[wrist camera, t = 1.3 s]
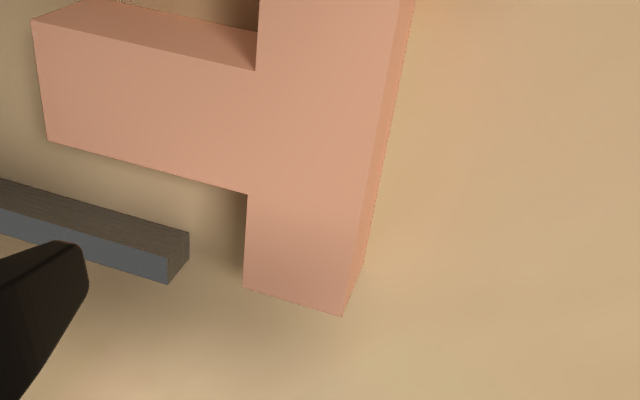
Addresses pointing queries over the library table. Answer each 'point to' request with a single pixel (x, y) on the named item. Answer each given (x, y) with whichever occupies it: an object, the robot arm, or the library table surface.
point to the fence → (93, 232)
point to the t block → (243, 118)
